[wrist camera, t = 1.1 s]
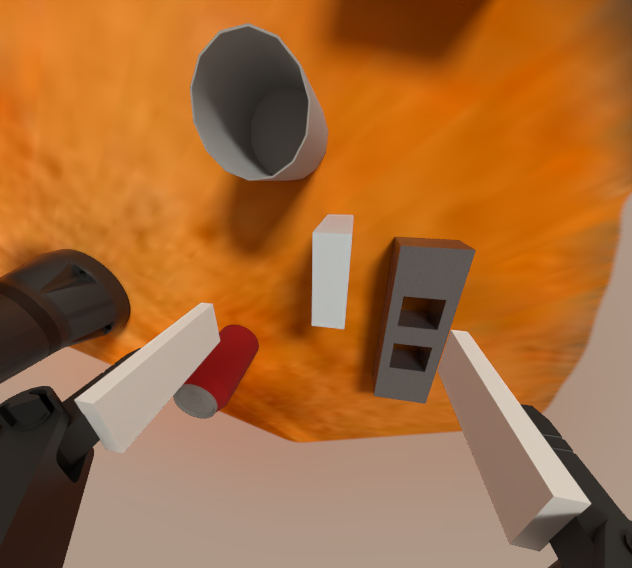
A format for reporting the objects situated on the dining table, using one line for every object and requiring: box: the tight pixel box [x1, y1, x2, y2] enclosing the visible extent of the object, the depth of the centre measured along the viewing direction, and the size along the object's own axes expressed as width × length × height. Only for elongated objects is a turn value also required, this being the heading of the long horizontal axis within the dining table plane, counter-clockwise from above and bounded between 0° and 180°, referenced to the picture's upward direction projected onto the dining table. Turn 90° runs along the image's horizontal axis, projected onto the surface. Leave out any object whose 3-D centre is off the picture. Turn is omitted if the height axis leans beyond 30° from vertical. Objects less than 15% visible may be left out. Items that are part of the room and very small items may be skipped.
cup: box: [190, 23, 328, 181], centre depth 19 cm, size 8×8×10 cm
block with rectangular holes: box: [372, 237, 476, 403], centre depth 29 cm, size 7×22×4 cm, turn 179°
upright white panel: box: [312, 214, 354, 329], centre depth 23 cm, size 9×3×10 cm, turn 179°
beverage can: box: [173, 325, 258, 418], centre depth 32 cm, size 7×7×12 cm
